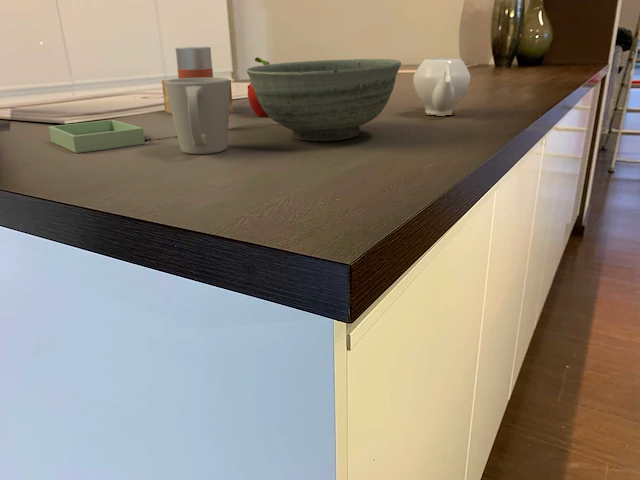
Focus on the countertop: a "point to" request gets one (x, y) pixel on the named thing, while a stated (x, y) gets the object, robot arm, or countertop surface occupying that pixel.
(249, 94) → the red bell pepper
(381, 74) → the bowl
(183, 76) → the can
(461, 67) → the teapot
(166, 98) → the holder
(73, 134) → the tray
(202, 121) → the cup
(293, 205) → the countertop surface
